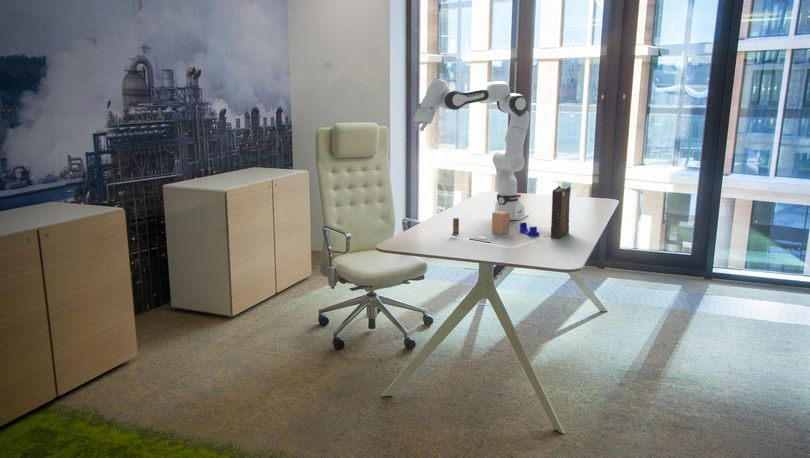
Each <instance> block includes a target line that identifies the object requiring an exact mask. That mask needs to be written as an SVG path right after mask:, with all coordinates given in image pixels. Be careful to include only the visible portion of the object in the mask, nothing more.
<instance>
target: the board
mask: <svg viewBox="0 0 810 458" xmlns="http://www.w3.org/2000/svg"><path fill="white" fill-rule="evenodd" d="M511 235H513V233H511V232H509V233H507V234H504V235H499V234H493V233H492V230H491V231H488V232H485V233H480V234H478V235H474V236H471V237H469V241H473V242H474V241H476V242H479V243H485V244H492V241H496V240H498V239H501V238H505V237H508V236H511Z"/></svg>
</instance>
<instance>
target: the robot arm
mask: <svg viewBox="0 0 810 458" xmlns="http://www.w3.org/2000/svg"><path fill="white" fill-rule="evenodd" d="M474 103H479V104H491V103H492V104H493V103H496V106H497V108H498V110H499V111H500V112H502V113H504V114H506V113H507V114H509V115H510V121H509V123H508V126H507V130H506V134H505V137H504V141H505V150H500V151H497V152H495V153H494V154H493V157H492V163H493V166H494V167H495V172H496V176H497V177H496V178H497V194H496V202H495V205H494V212H497V211H504V212H510V220H509V221H514V220H515V221H521V220H523V219H525V218H527V217H529V214H528V213H526V212H525V210H526V209H525V205H523V203H521V201H519V198H521V196H522V195H521V194H520V193H518V180H517V177H516V175H515V172H516V173H517V172H520V171H522V170H523V168H524V167H525V163H526V162H525V158H524V144H525V141H526V140H525V139H526V136H527V133H528V129H529V125H530V119H531V118H530V117H531V116H530V112H529V111H528V100H527V97H526V96H524V95H523V94H520V93H512V92H511V89H510V86H509V85H508V83H507V82H505V81H492V82H486V83H482V84H480V85H478V86H477V87H476V89H474V90H471V91H464V92H462V91H459V90H451V89H450V87H449V86H448V84H447V81H445V80H444V79H439V78H435V79H433V80H431V83H429V85H428V88H427V90H426V94H425V96H424V97H423V99H422V100H421V102H420V103H419V104H418V105H417V110H415V111H416V112H415V114H414V116H413V122H415V123H414V128H413V130H414V131H415V132H417V131H418V129H419V131H420V132H424V131H425V128H426V127H427V126H428V125H431V124H432V123H433V120H434V118H435V115H436V111H437V109H438V106H439V107H440V108H442V109H443V110H453V111H457V110H460V109H461V108H463V107H464V106H465V105H469V104H474ZM420 125H421V126H420ZM419 126H420V127H419Z"/></svg>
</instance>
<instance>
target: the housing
mask: <svg viewBox="0 0 810 458" xmlns="http://www.w3.org/2000/svg"><path fill="white" fill-rule="evenodd" d="M491 214H492V215H491V216H492V217H491V226H492V227H491V231H492V233H493V234H499V235H504V234H507V233H510V221H511V220H510V212H504V211H497V212H495V211H493V212H492V213H491Z"/></svg>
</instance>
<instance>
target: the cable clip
mask: <svg viewBox="0 0 810 458" xmlns="http://www.w3.org/2000/svg"><path fill="white" fill-rule="evenodd" d="M527 225H528V224H527V222H523V221H522V222H520V223H519V232H520V233H522V234H525V235H527V236H530V237H539V236H540V231H538V227H537V226H534V225H533V226H530V227H529V230H528V226H527Z"/></svg>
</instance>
